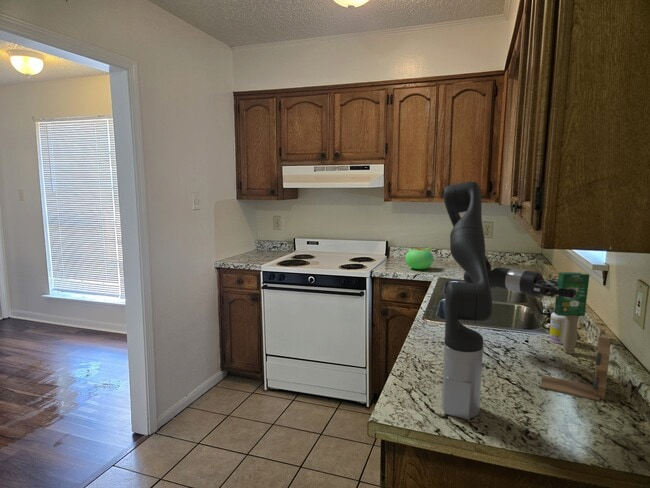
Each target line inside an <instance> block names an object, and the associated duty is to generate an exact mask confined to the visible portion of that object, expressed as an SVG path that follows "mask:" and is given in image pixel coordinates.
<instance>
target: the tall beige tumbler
mask: <svg viewBox="0 0 650 488" xmlns="http://www.w3.org/2000/svg"><path fill="white" fill-rule="evenodd" d="M580 317H581V316H566V322H565V329H564V335H563V344H562V345H563V349H562V351H563V352H564V354H569V355H572V354H575V353H576V350H575V349H576V347H577V342H578V321H579V320H578V319H579V318H580Z"/></svg>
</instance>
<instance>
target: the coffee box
mask: <svg viewBox="0 0 650 488" xmlns="http://www.w3.org/2000/svg"><path fill="white" fill-rule="evenodd" d="M590 276H591V275H590V273H587V272H571V271H570V272H569V271H566V272H565V271H558V278H557V279H558V284H557V287H559V288H563V289H569V290H574V291H575V295H574V298H569V297H564V296H560V295H559V296H555V304H554V307H555V310H554V313H555V314H556V315H558V316H580V317H585V315H586V308H587V299H588V292H589V283H590Z"/></svg>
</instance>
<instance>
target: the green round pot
mask: <svg viewBox="0 0 650 488" xmlns="http://www.w3.org/2000/svg"><path fill="white" fill-rule="evenodd" d="M432 249H433V247H426V248H421V247H416V248H413V249H412V248H408V252H407V253H406V255H405V263H406V264H407V266H408V267H410V268H412V269H414V270H426V269H429V268H430V267H432V265H433V264H434V259H435V258H434V255H433V254H432V252H431V250H432Z"/></svg>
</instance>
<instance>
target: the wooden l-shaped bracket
mask: <svg viewBox="0 0 650 488" xmlns="http://www.w3.org/2000/svg"><path fill="white" fill-rule="evenodd" d="M606 334H607V333H606V330H605V329H602V328H600V331H599V335H598V340H597V341H598V342H597V350H596V351H597V352H596V358H595V370H594V379H593V384H588V383H583V382H577V381H574V380H570V379H563V378H559V377H555V376H554V377H553V376H549V375H544V374H542V376H541V383H540V389H542V390H547V391H552V392H557V393H560V394H565V395H570V396H574V397H577V398H578V397H579V398H584V399H589V400H593V401H598V402H601V399H603V400H605V398H606V390H607V381H608V380H607V379H608V369H609V359H610V350H611V338H610V337H609V336H607V335H606Z"/></svg>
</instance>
